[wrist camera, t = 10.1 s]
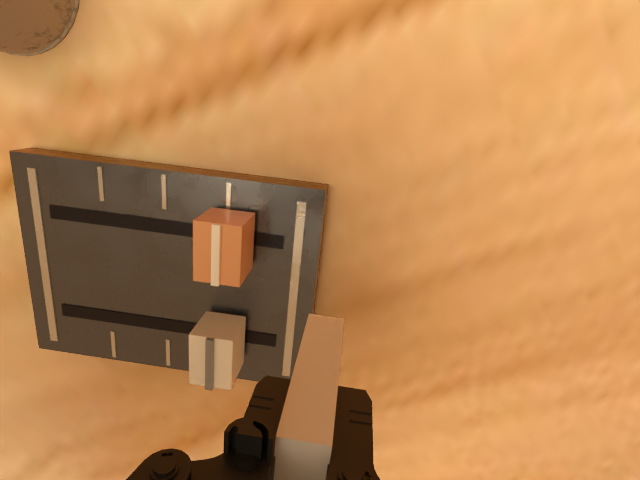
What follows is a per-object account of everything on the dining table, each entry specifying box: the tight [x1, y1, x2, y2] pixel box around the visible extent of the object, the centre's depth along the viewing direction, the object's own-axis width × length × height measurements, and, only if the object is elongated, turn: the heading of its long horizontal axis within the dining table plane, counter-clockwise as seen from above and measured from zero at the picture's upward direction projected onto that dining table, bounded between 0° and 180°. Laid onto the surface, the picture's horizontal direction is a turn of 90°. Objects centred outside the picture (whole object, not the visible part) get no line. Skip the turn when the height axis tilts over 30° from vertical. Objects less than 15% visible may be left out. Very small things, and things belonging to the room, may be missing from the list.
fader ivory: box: [189, 311, 246, 390], centre depth 29 cm, size 3×4×4 cm
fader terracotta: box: [193, 207, 255, 287], centre depth 26 cm, size 3×4×4 cm
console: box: [9, 148, 328, 382], centre depth 31 cm, size 22×16×2 cm
